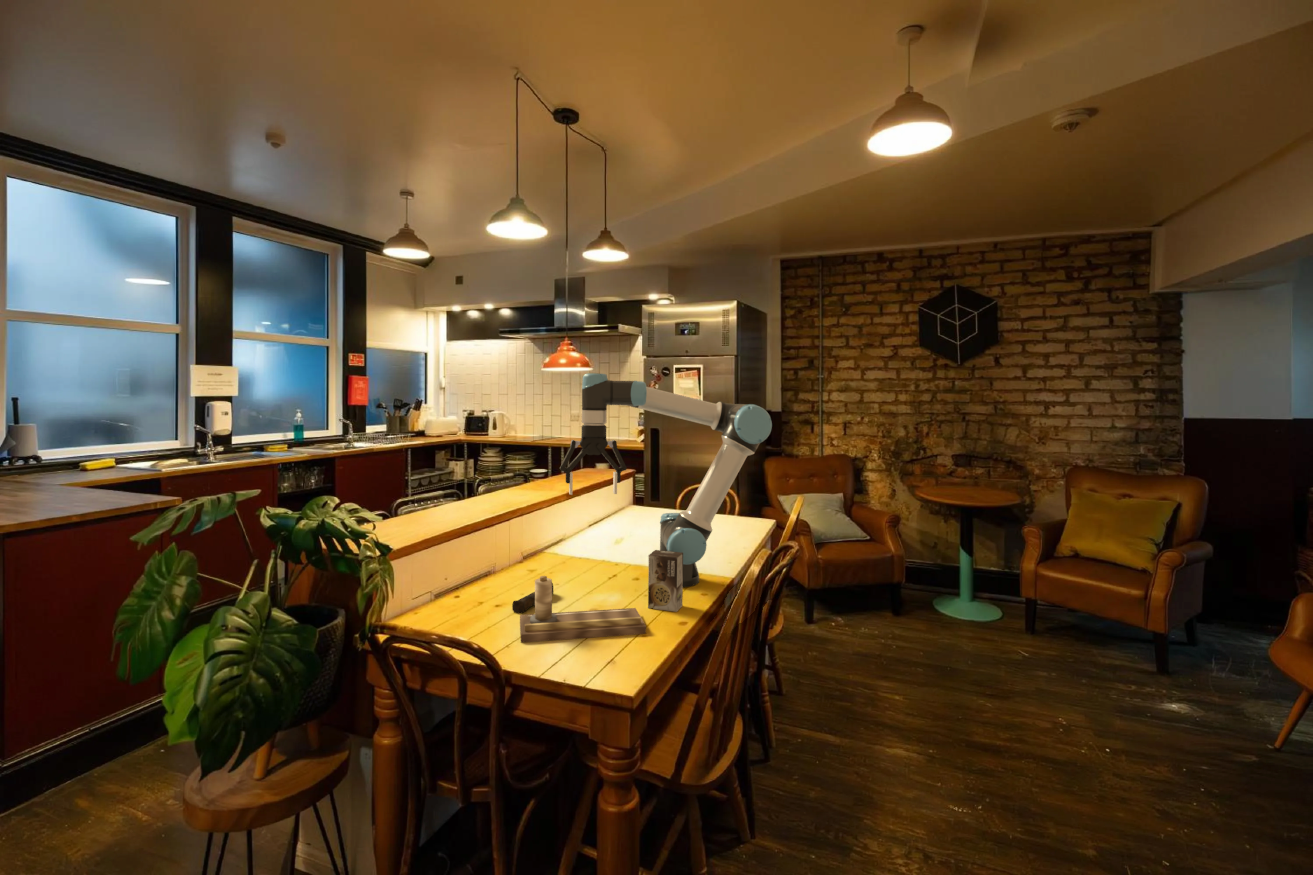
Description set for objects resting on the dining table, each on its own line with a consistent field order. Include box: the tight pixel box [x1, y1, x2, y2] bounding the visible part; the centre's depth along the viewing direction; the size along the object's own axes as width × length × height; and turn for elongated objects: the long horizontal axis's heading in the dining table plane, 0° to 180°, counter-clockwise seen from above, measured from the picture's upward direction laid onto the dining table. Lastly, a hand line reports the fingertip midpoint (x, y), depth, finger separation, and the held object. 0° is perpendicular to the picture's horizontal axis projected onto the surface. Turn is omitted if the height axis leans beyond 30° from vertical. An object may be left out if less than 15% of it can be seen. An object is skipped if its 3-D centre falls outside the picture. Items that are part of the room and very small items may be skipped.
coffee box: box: [647, 549, 684, 613], centre depth 182 cm, size 9×6×16 cm
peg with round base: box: [530, 575, 557, 624], centre depth 163 cm, size 7×7×12 cm
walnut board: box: [519, 607, 647, 643], centre depth 165 cm, size 32×14×4 cm, turn 103°
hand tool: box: [511, 582, 554, 615], centre depth 183 cm, size 19×4×5 cm, turn 155°
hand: (593, 493), depth 189 cm, fingers open, 13 cm apart
